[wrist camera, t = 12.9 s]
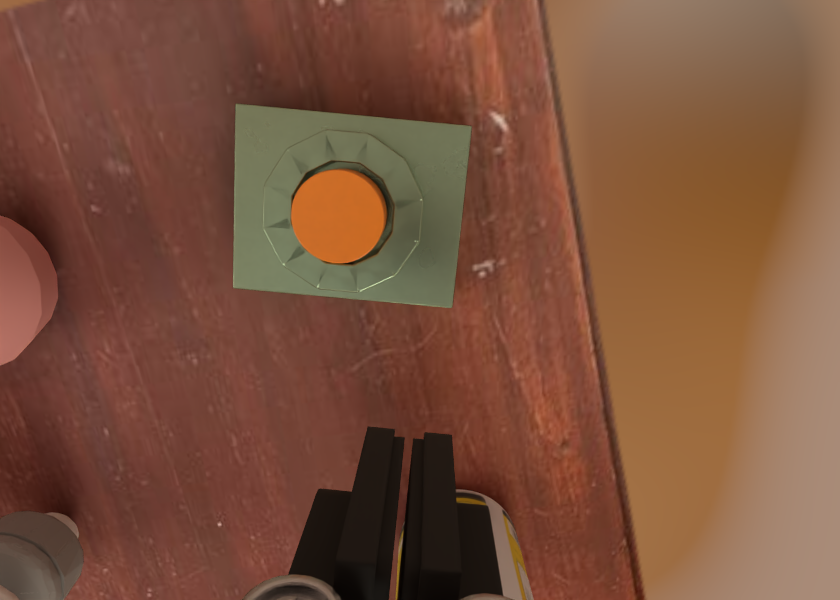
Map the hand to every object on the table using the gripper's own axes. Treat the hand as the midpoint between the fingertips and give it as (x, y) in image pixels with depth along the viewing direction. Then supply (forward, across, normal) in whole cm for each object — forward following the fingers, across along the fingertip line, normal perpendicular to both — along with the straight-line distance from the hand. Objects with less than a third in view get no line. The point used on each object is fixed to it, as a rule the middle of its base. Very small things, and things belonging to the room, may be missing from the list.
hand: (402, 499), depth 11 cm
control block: (+18, +4, -4) cm, 19 cm away
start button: (+14, +4, -4) cm, 15 cm away
